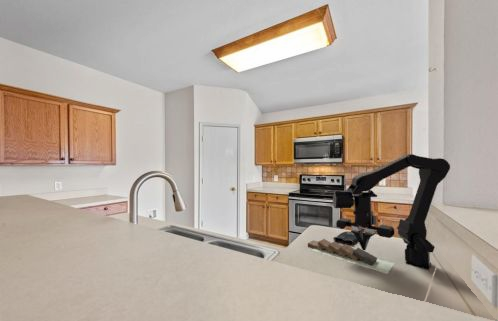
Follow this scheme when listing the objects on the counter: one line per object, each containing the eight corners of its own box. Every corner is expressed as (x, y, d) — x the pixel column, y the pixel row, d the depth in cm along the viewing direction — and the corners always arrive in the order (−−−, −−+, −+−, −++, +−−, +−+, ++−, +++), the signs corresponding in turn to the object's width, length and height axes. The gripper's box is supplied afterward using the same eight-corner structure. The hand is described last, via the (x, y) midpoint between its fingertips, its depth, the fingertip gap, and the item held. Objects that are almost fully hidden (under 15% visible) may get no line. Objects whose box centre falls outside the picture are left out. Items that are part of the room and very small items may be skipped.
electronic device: (355, 250, 92) (364, 237, 103) (352, 238, 92) (362, 226, 103) (334, 248, 99) (345, 235, 110) (332, 236, 99) (343, 225, 110)
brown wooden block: (362, 253, 81) (345, 243, 86) (357, 258, 78) (339, 247, 83) (361, 257, 82) (344, 246, 86) (356, 261, 78) (338, 250, 83)
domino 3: (350, 250, 85) (334, 241, 89) (345, 254, 81) (328, 244, 86) (349, 253, 85) (333, 244, 90) (344, 257, 81) (328, 247, 86)
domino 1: (327, 244, 92) (313, 240, 97) (322, 247, 88) (307, 243, 93) (327, 247, 92) (313, 243, 97) (322, 250, 88) (307, 246, 93)
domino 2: (339, 247, 88) (324, 238, 93) (333, 250, 85) (318, 241, 90) (338, 250, 88) (323, 241, 93) (332, 253, 85) (317, 244, 90)
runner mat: (394, 264, 76) (394, 263, 76) (387, 275, 69) (387, 273, 69) (322, 244, 96) (322, 243, 96) (311, 250, 89) (311, 249, 89)
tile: (377, 257, 78) (358, 247, 82) (373, 262, 74) (353, 251, 79) (376, 261, 78) (357, 250, 83) (371, 265, 74) (352, 254, 79)
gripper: (397, 208, 78) (399, 250, 77) (346, 202, 91) (347, 238, 91) (389, 213, 70) (391, 260, 70) (334, 206, 84) (336, 245, 83)
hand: (364, 249), depth 79 cm, fingers closed
